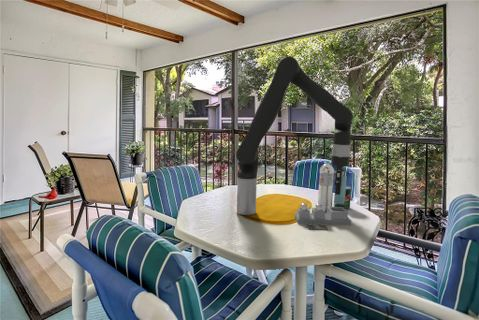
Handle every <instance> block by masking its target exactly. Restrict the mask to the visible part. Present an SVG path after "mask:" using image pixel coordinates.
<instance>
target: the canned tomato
mask: <svg viewBox="0 0 479 320" xmlns="http://www.w3.org/2000/svg"><path fill="white" fill-rule="evenodd" d="M351 195H352V187H351V186H349V185H346V191H345V201H344V204H337V203H334V202H333V207H343V208H344V209H345V210H346V211H349V210H350V209H351Z"/></svg>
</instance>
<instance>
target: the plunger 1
mask: <svg viewBox="0 0 479 320" xmlns="http://www.w3.org/2000/svg"><path fill="white" fill-rule="evenodd" d="M300 208H301V210H307V208H308V203H305V202H301V203H300Z"/></svg>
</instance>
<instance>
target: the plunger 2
mask: <svg viewBox="0 0 479 320" xmlns="http://www.w3.org/2000/svg"><path fill="white" fill-rule="evenodd" d="M314 206H315V207H314V208H315V211H322V204H319V203H318V202H317V203H315V205H314Z"/></svg>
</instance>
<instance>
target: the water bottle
mask: <svg viewBox="0 0 479 320" xmlns="http://www.w3.org/2000/svg"><path fill="white" fill-rule="evenodd" d="M324 162H325V163H324V164H322V165H321V166H320V168H319V178H318V179H319V181H318V183H319V184H318V195H317V197H318V198H317V203H319V204H322V208H323V209H324V211H325V213H327V207H333V198H334V197H333V195H334V194H333V193H334V178H335V173H334V172H335V168H334V167H333V165H331V163H330V160H325V161H324Z"/></svg>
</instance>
